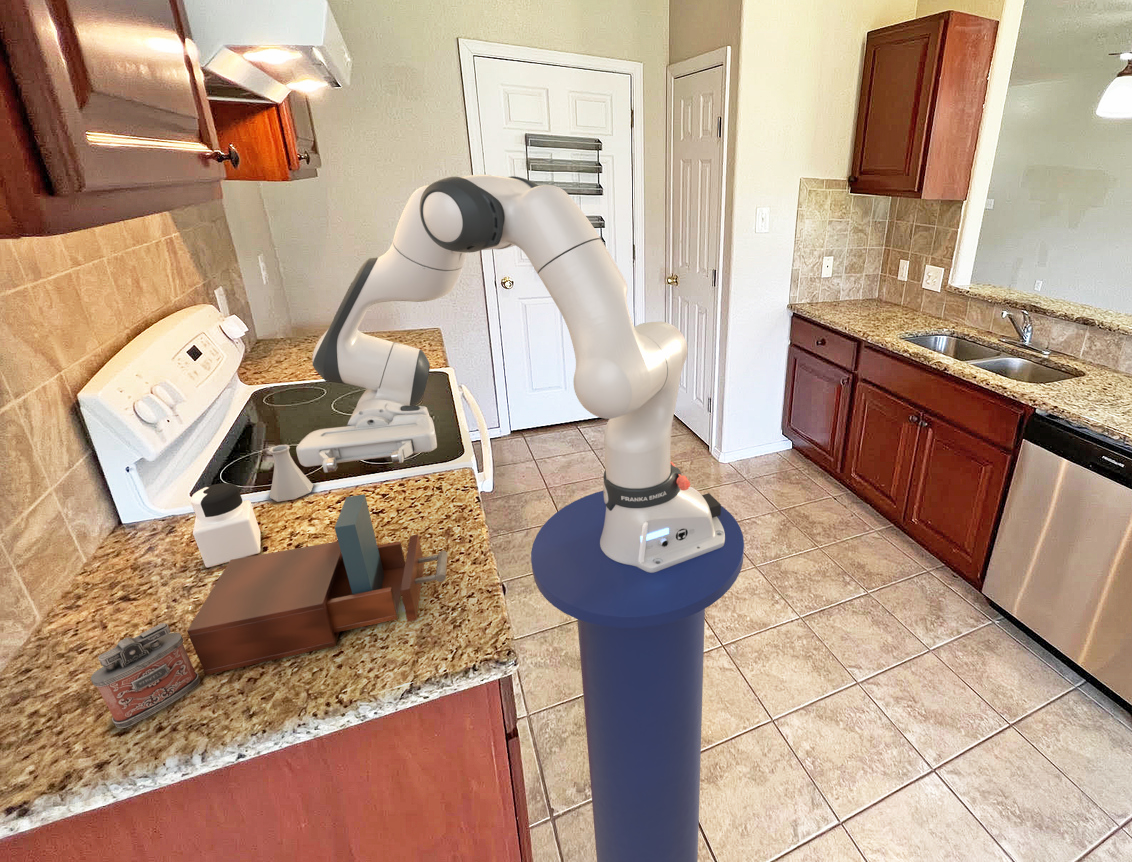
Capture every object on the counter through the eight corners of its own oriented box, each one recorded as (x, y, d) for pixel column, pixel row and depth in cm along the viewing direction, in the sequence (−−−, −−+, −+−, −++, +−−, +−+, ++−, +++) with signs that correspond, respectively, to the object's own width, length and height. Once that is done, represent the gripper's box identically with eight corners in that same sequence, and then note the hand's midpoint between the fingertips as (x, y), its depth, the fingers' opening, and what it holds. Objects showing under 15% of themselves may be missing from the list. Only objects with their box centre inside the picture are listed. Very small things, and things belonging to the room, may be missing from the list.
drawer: (451, 557, 96) (446, 529, 94) (448, 612, 84) (442, 581, 82) (329, 581, 90) (320, 551, 88) (307, 644, 78) (296, 611, 76)
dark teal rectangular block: (384, 575, 90) (365, 494, 84) (376, 610, 83) (354, 524, 77) (367, 578, 89) (346, 496, 83) (357, 614, 82) (334, 527, 76)
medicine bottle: (261, 532, 102) (241, 474, 97) (260, 553, 97) (240, 493, 92) (209, 546, 98) (186, 486, 93) (206, 569, 93) (181, 506, 88)
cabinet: (355, 578, 92) (345, 540, 89) (335, 646, 79) (323, 603, 76) (245, 600, 87) (230, 559, 84) (205, 675, 74) (186, 630, 71)
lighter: (121, 733, 67) (88, 670, 63) (109, 719, 68) (76, 657, 64) (205, 683, 73) (180, 623, 69) (193, 671, 75) (167, 612, 71)
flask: (272, 506, 109) (258, 460, 106) (267, 491, 114) (253, 446, 110) (317, 493, 114) (305, 449, 110) (310, 479, 119) (298, 436, 115)
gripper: (304, 418, 97) (279, 455, 86) (436, 405, 104) (430, 437, 93) (312, 450, 100) (290, 491, 88) (441, 435, 107) (436, 471, 95)
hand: (363, 463), depth 90 cm, fingers open, 8 cm apart
